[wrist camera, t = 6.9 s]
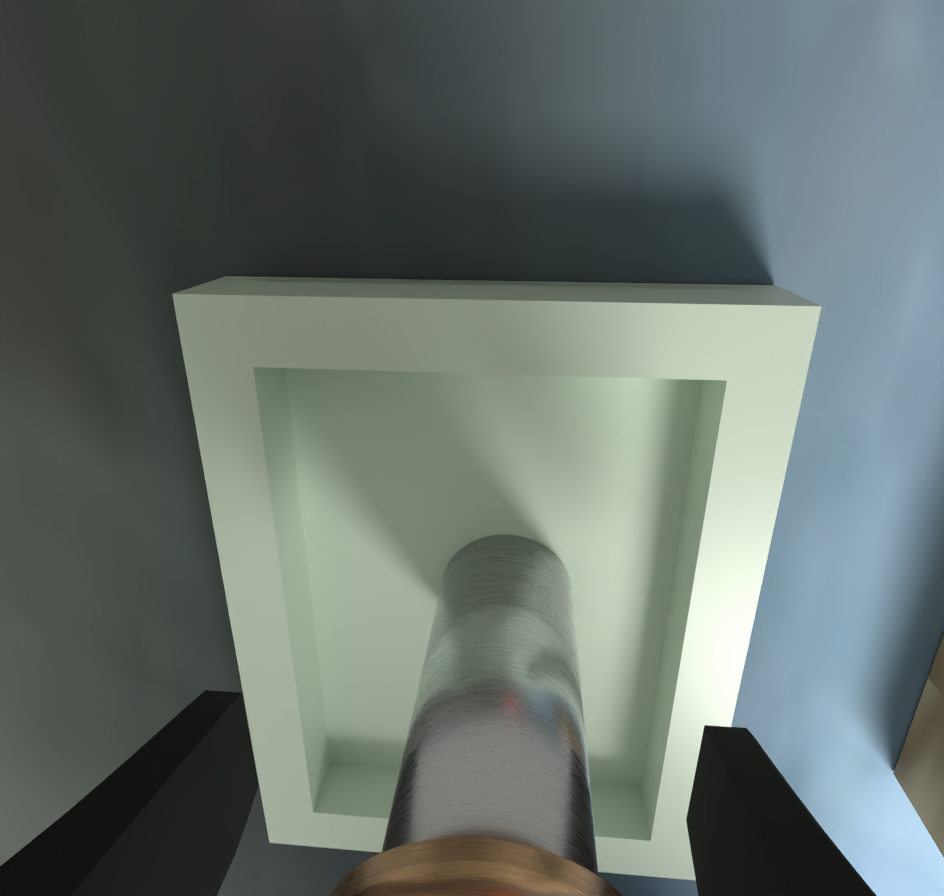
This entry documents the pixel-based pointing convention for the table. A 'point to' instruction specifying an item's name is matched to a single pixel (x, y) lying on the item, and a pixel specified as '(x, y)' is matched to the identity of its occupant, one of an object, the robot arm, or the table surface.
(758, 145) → the table surface
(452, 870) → the pin
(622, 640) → the tray
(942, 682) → the socket block
